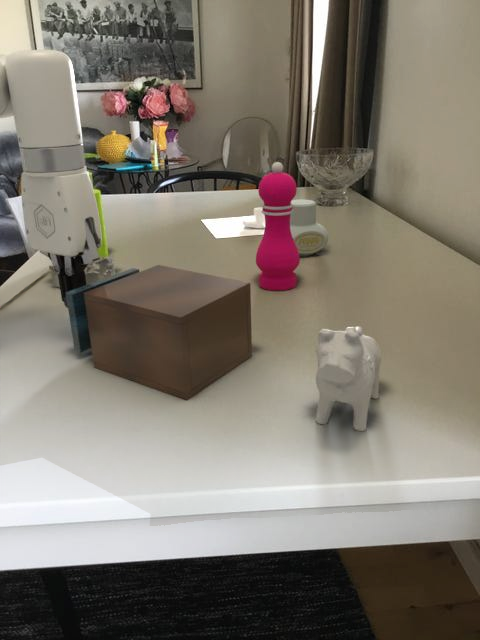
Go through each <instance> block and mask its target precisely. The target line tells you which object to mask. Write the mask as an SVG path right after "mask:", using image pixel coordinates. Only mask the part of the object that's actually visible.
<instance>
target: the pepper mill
mask: <svg viewBox="0 0 480 640" xmlns="http://www.w3.org/2000/svg"><path fill="white" fill-rule="evenodd" d="M283 170H284V166H283V164H282V162H279V161H275V162H274V163H273V164H272V165H271V171H272V172H270V173H267V174H265V175H264V176H263V177H262V178H261V180H260V181H259V184H258V187H257V188H258V189H257V192H258V196H259V198H260V199H261V200H262V201H263V203H262V204H261V207H262V209H263V210H262V213H263V214H264V215H265V231H264V234H263V235H262V237H261V240H260V243H259V245H258V247H257V250H256V251H257V252H256V254H255V264H256V266H257V268H258V269H259V270H260V271H261V272H260V273H259V275H258V285H259V287H260V288H261V289H264V290H267V291H274V292H276V291H278V292H279V291H287V290H290V289H291V290H292V289H294V288H295V287H296V286H297V277H298V276H297V274H296V272H295V270H297V268H298V267H299V265H300V261H301V260H300V256H299V252H298V248H297V246H296V244H295V242H294V240H293V237H292V234H291V230H290V215H291V213H293V208H292V207H293V204H292V203H291V201H292V200H294V199H295V197H296V196H297V189H298V188H297V183H296V180H295V179H294V177H293V176H291V175H290V174H288V173H286V172H283Z"/></svg>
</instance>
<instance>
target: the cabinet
mask: <svg viewBox="0 0 480 640" xmlns="http://www.w3.org/2000/svg"><path fill="white" fill-rule="evenodd" d="M251 288H252V287H251V282H248V281H243V280H237V279H232V278H228V277H223V276H217V275H212V274H207V273H203V272H197V271H192V270H187V269H182V268H176V267H172V266H171V267H170V266H167V265H162V264H157V265H155V266H152V267H149V268H146V269H143V270H140V271H139V272H138V273H135V274H133V275H130V276H127V277H125V278H122V279H119V280H117V281H114V282H111V283H109V284H106V285H103V286H101V287H98V288H95V289H93V290H90V291H87V292H85V293H84V297H85V304H86V312H87V319H88V326H89V333H90V340H91V347H92V348H91V354H92V359H93V367H94V368H95V369H98V370H101V371H104V372H106V373H109V374H112V375H115V376H118V377H120V378H123V379H126V380H129V381H132V382H134V383H138V384H140V385H143V386H145V387H149V388H151V389H154V390H158V391H160V392H163V393H166V394H168V395H171V396H174V397H177V398H180V399H182V400H185V401H188V400H190V399H191V398H193V397H194V396H195V395H197V394H199V393H200V392H202V391H203V390H204V389H205V388H207V387H209V386H210V385H212V384H213V383H215V382H217V380H219V379H220V378H222V377H223V376H225V375H226V374H228V373H230V372H231V371H232V370H234V369H236V368H237V367H238V366H240V365H241V364H243V363H244V362H245V361H247V360H249V359H250V358H252V357H253V342H252V341H253V339H252V337H253V336H252V297H251V296H252V292H251Z"/></svg>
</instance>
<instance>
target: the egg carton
mask: <svg viewBox="0 0 480 640" xmlns="http://www.w3.org/2000/svg"><path fill="white" fill-rule="evenodd" d="M114 261H115V256H114V254H111V255H108V257H103V258H100V260H99V261H97V262H94V263H90V264H88V265H87V270H86V271H85V277H86V284H87V285H88V284H91V283H93V282H96V281H99V280H102V279H104V278H107V277H110V276H113V275H115V274H116V272H115V271H116V270H115V263H114ZM48 267H49V269H48V270H50V275H51V281H52V286H53V287H54V288H59V289H60V286H59V280H58V274H59V273H56V272H55V271H54V268H53V265H49V266H48Z"/></svg>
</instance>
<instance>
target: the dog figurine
mask: <svg viewBox="0 0 480 640" xmlns="http://www.w3.org/2000/svg"><path fill="white" fill-rule="evenodd" d="M317 341H318V342H317V344H316V350H315V352H316V353H315V354H316V359H317V370H316V373H315V385H316V388H317V391H318V392H319V394H318V395H319V398H318V404H317V409H316V415H315V420H314V421H315V423H316V424H319V425H326V424H327V423H328V422H329V419H330V415H331V414H332V413H331V412H332V410H333V406H334V403H336V402H340V403H343V404H349V405H350V406H351V408H352V410H353V422H352V428H353V429H354V431H357V432H363V431H366V430H367V421H368V413H369V412H368V411H369V406H370V401H371V399H379V396H380V395H379V390H380V389H379V387H380V386H379V384H380V370H381V369H380V368H381V363H382V362H381V361H382V353H381V350H380V349H381V348H380V345H379V344H378V343H377V340H376V339H374V338H373V337H371V336H369V335H365V334H364V332H363V328H362V327H361V326H355V327H354V326H347V327H346V328H345V330H331V329H329V328H322V329H321V330H319V332H318V337H317Z"/></svg>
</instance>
